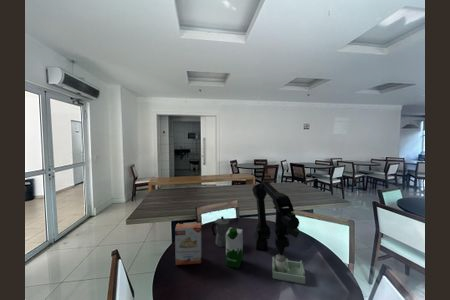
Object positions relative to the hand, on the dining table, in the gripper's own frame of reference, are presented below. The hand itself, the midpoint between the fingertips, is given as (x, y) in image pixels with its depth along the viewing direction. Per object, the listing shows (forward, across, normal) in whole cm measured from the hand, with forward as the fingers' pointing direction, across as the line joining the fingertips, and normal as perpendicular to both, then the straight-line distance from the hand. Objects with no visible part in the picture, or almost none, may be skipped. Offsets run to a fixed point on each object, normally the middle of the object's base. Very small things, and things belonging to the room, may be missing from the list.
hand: (280, 249), depth 94 cm
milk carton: (+12, +1, +25) cm, 27 cm away
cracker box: (+12, -4, +50) cm, 51 cm away
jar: (+11, 0, 0) cm, 11 cm away
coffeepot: (+12, +17, +37) cm, 42 cm away
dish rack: (+12, 0, -3) cm, 12 cm away
